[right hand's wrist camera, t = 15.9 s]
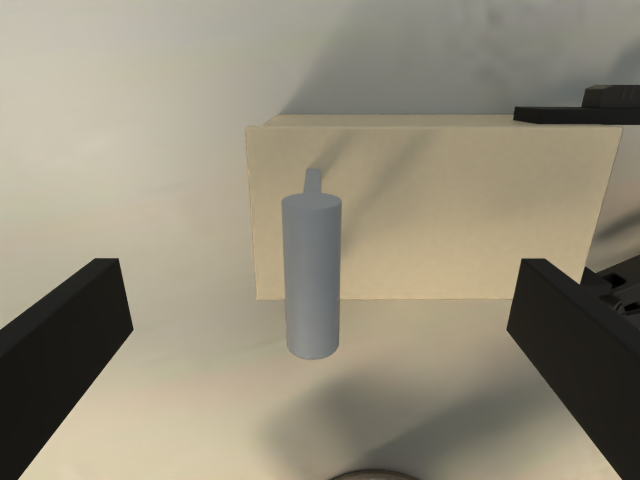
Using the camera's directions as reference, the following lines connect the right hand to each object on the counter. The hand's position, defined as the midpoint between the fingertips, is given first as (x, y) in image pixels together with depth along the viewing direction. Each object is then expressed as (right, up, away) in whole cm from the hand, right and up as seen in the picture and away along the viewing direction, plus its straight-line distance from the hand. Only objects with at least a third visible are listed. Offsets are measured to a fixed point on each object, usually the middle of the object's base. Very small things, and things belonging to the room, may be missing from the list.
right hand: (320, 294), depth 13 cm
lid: (+5, +3, +8) cm, 10 cm away
